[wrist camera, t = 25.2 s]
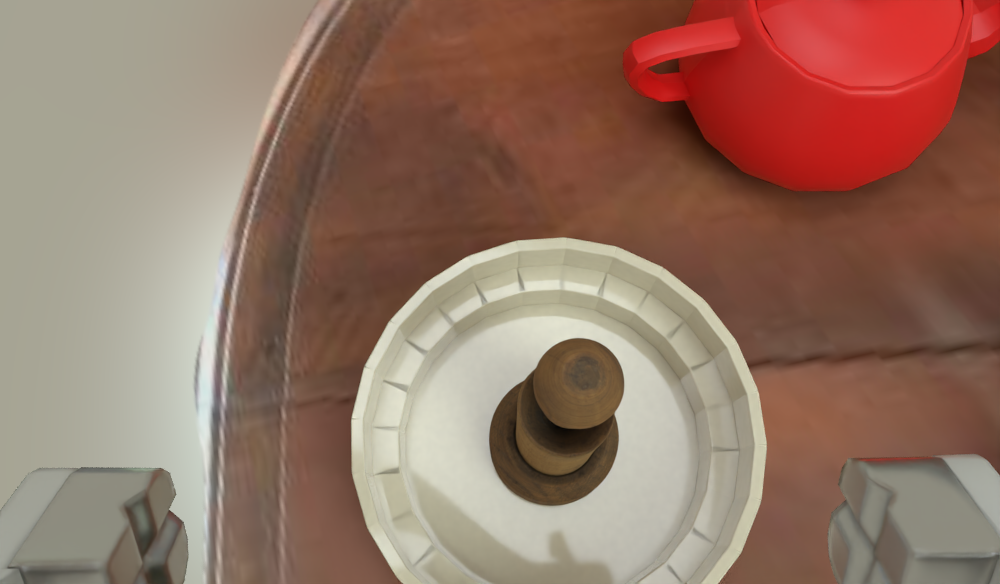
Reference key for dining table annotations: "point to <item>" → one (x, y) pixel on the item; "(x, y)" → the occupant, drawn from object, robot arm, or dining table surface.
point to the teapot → (817, 81)
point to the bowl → (508, 361)
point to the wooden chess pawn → (560, 424)
